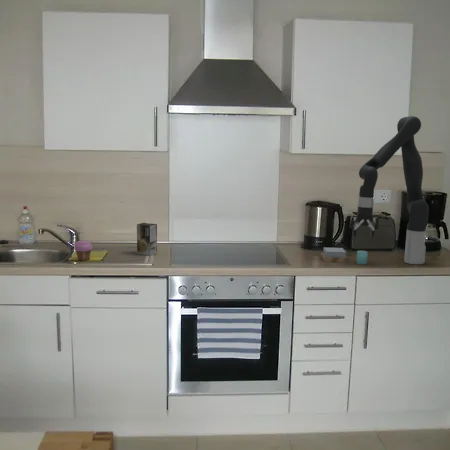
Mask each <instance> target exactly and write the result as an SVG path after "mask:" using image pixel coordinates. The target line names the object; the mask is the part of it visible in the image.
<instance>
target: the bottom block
mask: <svg viewBox="0 0 450 450" xmlns="http://www.w3.org/2000/svg"><path fill="white" fill-rule="evenodd" d="M319 257H320V258H321V259H322V261H323V262H324V263H348V262H349V258H348V257H347V256H346V258H335V257H326V256H325V255H324V253H323V252H320V254H319Z"/></svg>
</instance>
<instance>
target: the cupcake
mask: <svg viewBox="0 0 450 450" xmlns="http://www.w3.org/2000/svg"><path fill="white" fill-rule="evenodd" d="M73 247H74V248H73V249H74V251H75V253H76V255H77V259H78V260H79V261H83V262H84V261H87V260H90V259H91V252H92V250H93V249H94V248H93V245H92V243H91V242H90V241H88V240H79V241H76V242H75V244H74V246H73Z"/></svg>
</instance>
